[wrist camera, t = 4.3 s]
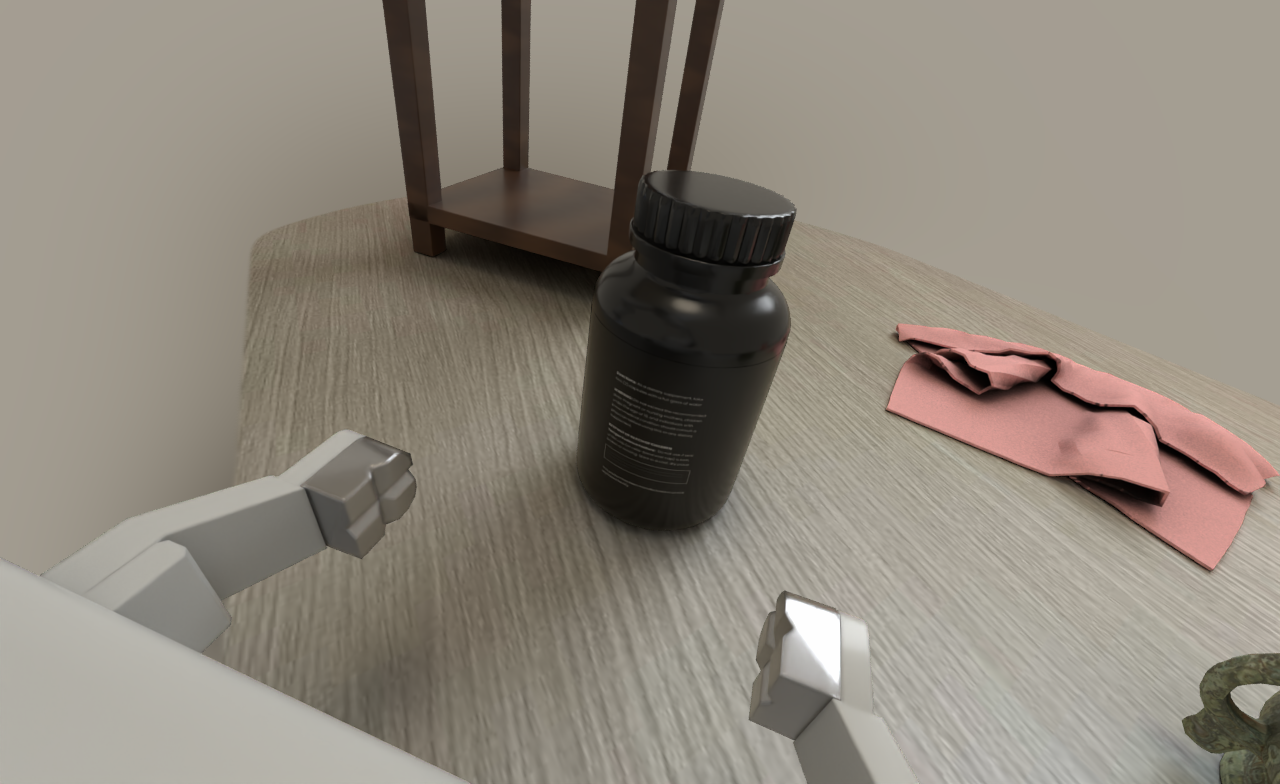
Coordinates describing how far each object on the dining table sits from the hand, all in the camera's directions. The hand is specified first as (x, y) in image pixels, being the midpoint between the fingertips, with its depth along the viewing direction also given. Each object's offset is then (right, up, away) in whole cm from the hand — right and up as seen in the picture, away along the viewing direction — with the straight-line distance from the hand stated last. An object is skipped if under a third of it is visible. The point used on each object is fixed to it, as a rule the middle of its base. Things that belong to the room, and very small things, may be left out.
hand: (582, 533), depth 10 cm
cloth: (+26, +2, +21) cm, 34 cm away
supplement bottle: (+2, -1, +12) cm, 12 cm away
